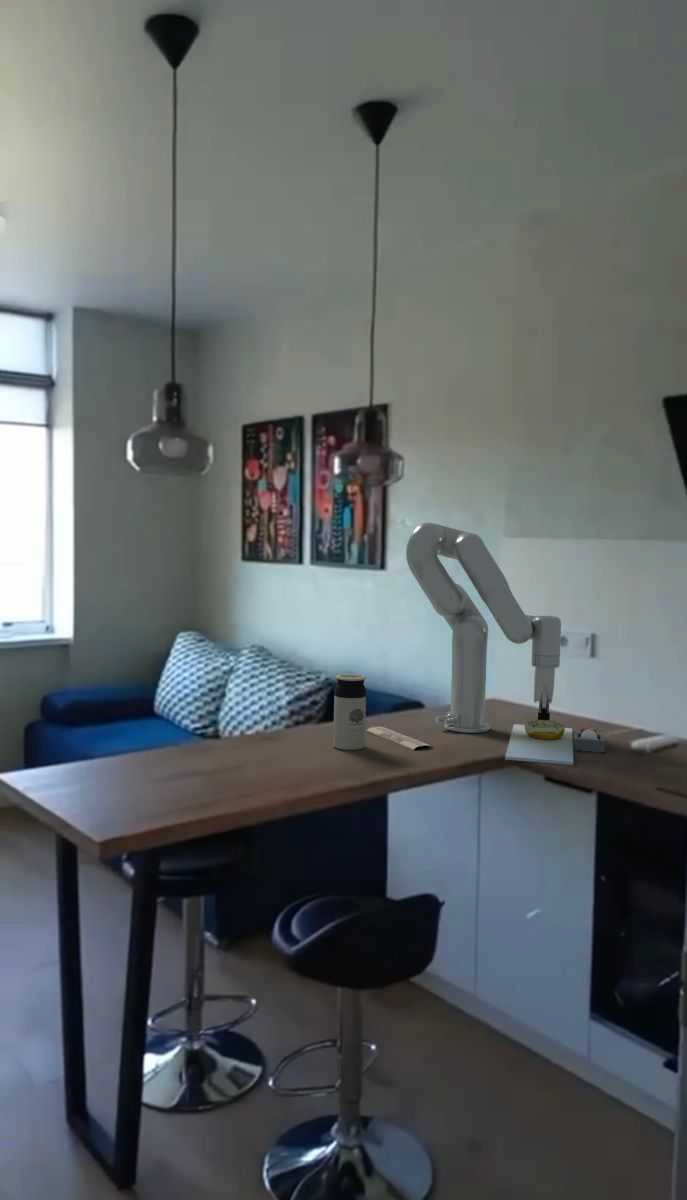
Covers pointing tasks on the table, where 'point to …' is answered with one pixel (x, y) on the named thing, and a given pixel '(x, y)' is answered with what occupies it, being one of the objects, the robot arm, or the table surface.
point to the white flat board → (540, 747)
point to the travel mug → (349, 712)
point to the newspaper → (397, 738)
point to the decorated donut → (544, 729)
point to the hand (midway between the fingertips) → (543, 726)
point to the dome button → (589, 734)
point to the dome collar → (589, 743)
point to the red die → (587, 728)
